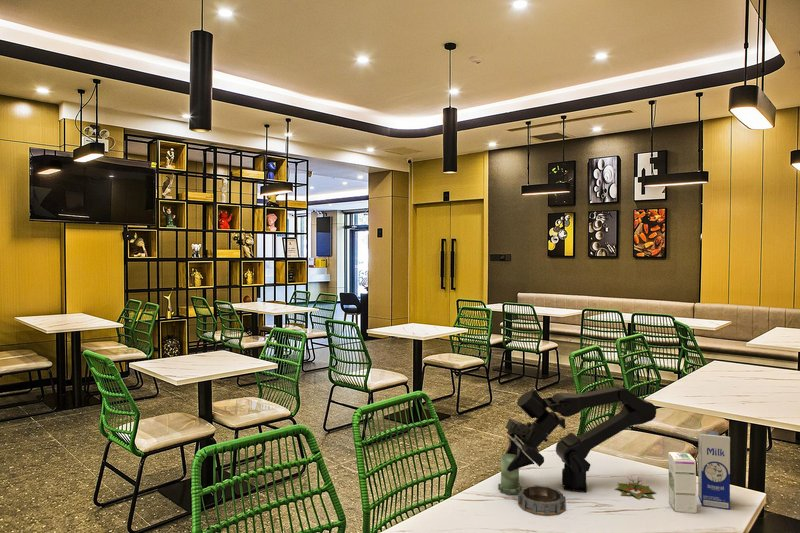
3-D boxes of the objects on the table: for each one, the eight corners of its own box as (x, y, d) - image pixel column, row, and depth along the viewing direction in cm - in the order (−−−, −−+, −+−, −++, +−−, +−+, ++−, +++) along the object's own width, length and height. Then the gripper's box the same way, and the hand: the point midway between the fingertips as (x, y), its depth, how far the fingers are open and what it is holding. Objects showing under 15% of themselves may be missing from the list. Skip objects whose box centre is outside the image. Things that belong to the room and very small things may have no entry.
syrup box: (697, 513, 145) (697, 460, 145) (673, 511, 146) (673, 458, 146) (690, 504, 151) (690, 452, 150) (667, 502, 152) (667, 451, 152)
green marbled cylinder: (522, 487, 163) (522, 454, 163) (520, 496, 156) (520, 462, 156) (499, 484, 165) (499, 451, 165) (497, 493, 158) (496, 459, 158)
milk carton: (701, 505, 150) (701, 434, 149) (697, 495, 156) (697, 426, 156) (730, 509, 147) (730, 436, 147) (725, 499, 153) (725, 429, 153)
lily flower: (654, 486, 163) (654, 471, 163) (661, 504, 152) (661, 487, 152) (611, 482, 167) (611, 467, 167) (615, 499, 155) (615, 483, 155)
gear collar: (565, 497, 155) (565, 487, 155) (565, 518, 143) (565, 507, 143) (520, 492, 159) (520, 482, 159) (516, 512, 147) (516, 501, 147)
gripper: (512, 401, 170) (478, 438, 169) (533, 419, 151) (494, 460, 150) (537, 425, 171) (503, 462, 170) (560, 446, 152) (522, 486, 151)
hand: (505, 466), depth 160 cm, fingers closed on green marbled cylinder, 5 cm apart
